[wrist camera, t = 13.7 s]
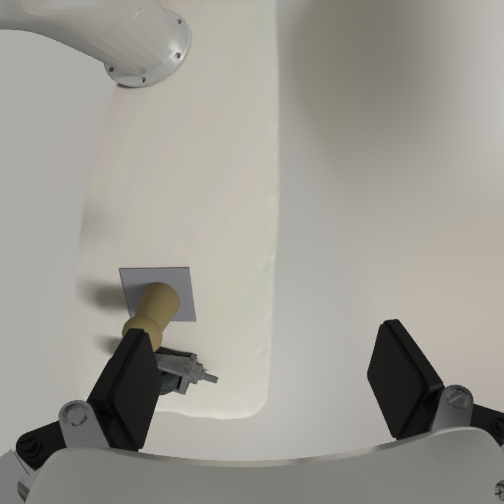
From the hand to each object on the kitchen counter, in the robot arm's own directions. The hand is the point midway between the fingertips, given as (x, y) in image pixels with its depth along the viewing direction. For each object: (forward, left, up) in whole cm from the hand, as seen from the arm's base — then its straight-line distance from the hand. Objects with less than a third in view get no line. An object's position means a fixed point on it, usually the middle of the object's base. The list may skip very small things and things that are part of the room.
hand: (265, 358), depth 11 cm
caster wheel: (+25, -14, -29) cm, 41 cm away
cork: (+13, -14, -28) cm, 34 cm away
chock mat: (+13, -15, -28) cm, 34 cm away
